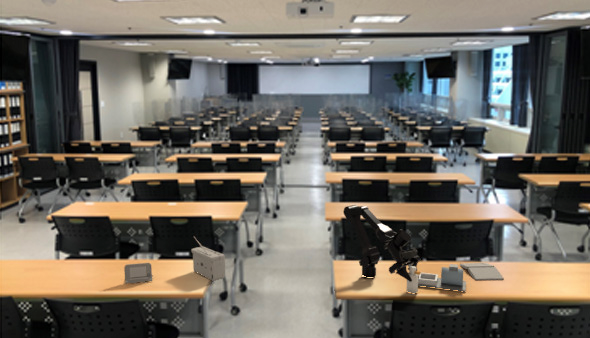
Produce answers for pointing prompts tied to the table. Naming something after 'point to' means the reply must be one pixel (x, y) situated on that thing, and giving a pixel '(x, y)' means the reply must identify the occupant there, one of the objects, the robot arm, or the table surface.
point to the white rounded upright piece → (413, 280)
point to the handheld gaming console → (138, 272)
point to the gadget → (482, 271)
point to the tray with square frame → (444, 279)
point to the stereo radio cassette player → (208, 263)
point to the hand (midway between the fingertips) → (414, 279)
